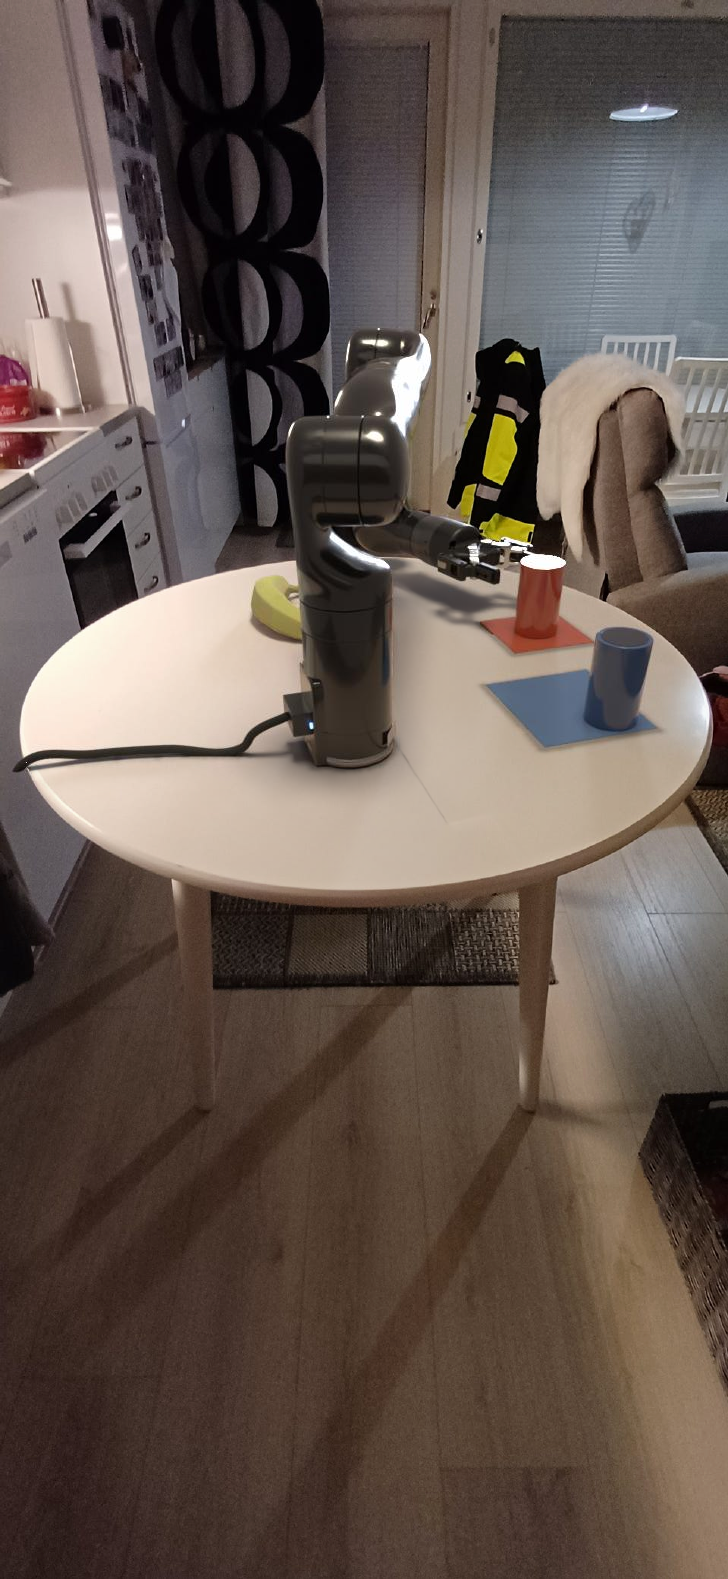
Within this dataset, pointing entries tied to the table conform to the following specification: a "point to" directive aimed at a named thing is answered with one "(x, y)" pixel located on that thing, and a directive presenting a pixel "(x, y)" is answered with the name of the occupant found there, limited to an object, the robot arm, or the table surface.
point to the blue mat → (555, 708)
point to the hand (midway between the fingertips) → (520, 571)
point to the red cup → (539, 596)
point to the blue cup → (617, 678)
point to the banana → (276, 605)
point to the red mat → (519, 644)
